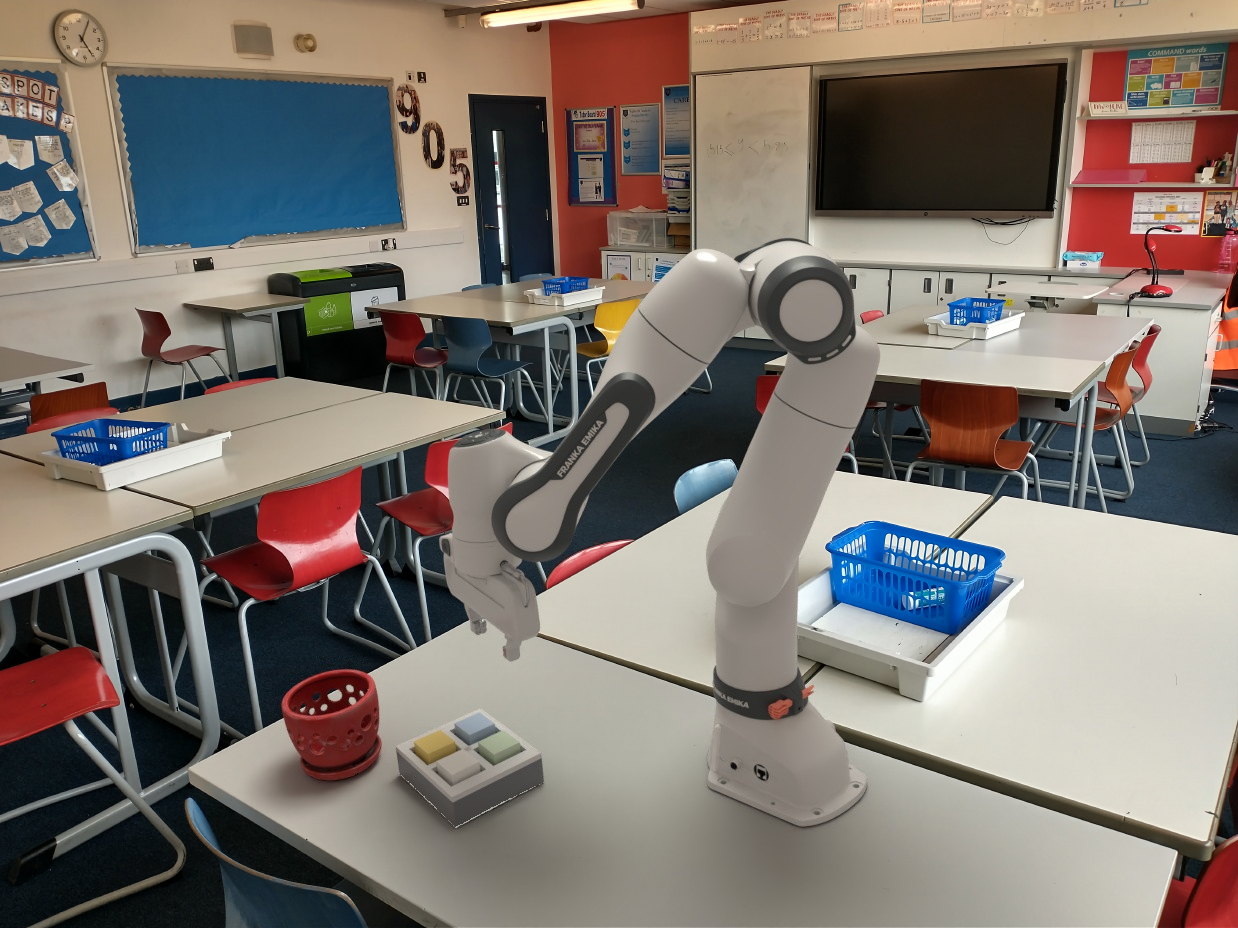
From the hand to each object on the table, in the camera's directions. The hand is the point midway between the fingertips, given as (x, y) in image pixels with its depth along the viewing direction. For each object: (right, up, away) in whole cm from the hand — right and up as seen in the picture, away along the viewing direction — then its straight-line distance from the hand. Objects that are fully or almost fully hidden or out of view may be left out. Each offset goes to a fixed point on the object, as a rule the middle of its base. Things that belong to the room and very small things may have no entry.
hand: (494, 644), depth 129 cm
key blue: (-4, -15, +8) cm, 17 cm away
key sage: (0, -16, +3) cm, 17 cm away
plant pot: (-24, -19, +10) cm, 33 cm away
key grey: (-5, -18, -1) cm, 18 cm away
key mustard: (-9, -17, +4) cm, 19 cm away
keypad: (-4, -20, +4) cm, 21 cm away
